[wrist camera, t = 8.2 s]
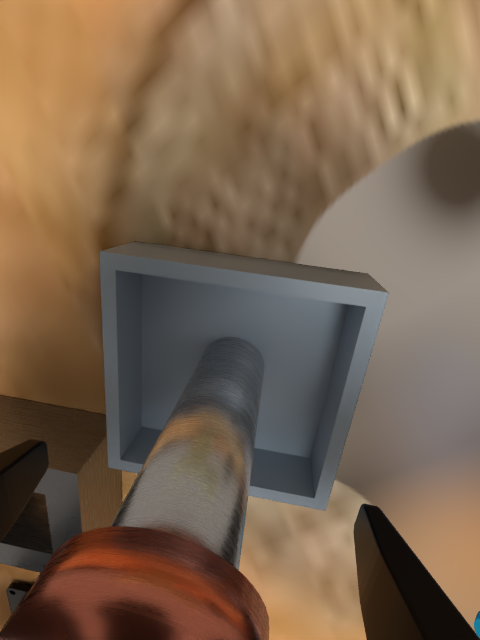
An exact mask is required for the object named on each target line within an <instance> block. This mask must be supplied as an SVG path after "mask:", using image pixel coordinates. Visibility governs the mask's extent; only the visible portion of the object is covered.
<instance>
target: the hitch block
mask: <svg viewBox="0 0 480 640" xmlns="http://www.w3.org/2000/svg"><path fill="white" fill-rule="evenodd" d="M29 439H37V440H43V441H45V442H46V444H47V450H48V458H49V466H48V469H47V471H46V473H45V474H44V476H43V478H42V479H41V481H40V483H39V484H38V486H37V487H36V489H35V491H34V492H33V494H32V496H31V497H30V499H29V500H28V502H27V504H26V505H25V507H24V509H23V510H22V512H21V513H20V515H19V517H18V518H17V520H16V521H15V523H14V524H13V526H12V527H11V529H10V530H9V531H8V533H7V534H6V535H5V537H4V538H3V540H2V541H1V542H0V563H2V564H6V565H10V566H15V567H19V568H23V569H28V570H32V571H36V572H40V573H41V572H42V571H43V569H44V568H45V566H46V565H47V563H48V562H49V560H50V559H51V557H52V556H53V554H54V552H55V551H56V550H57V549H58V548H59V547H60V546H61V545H62V544H63V543H64V542H66V541H67V540H69V539H70V538H72V537H74V536H76V535H78V534H80V533H82V532H86V531H89V530H93V529H97V528H104V527H110V526H111V524H112V522H113V520H114V519H115V517H116V515H117V513H118V511H119V509H120V507H121V506H122V482H121V470H118V469H113V468H108V450H107V426H106V415H103V414H98V413H93V412H87V411H82V410H76V409H71V408H66V407H60V406H55V405H50V404H44V403H39V402H33V401H28V400H23V399H17V398H12V397H7V396H1V395H0V453H1V452H3V451H5V450H7V449H9V448H12V447H14V446H16V445H18V444H20V443H22V442H24V441H26V440H29Z"/></svg>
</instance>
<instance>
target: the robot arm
mask: <svg viewBox="0 0 480 640" xmlns="http://www.w3.org/2000/svg"><path fill="white" fill-rule="evenodd" d="M48 466H49V458H48V450H47V444H46V442H45V441H43V440H37V439H29V440H26V441H24V442H22V443H20V444H18V445H16V446H14V447H12V448H9V449H7V450H5V451H3V452H1V453H0V542H1V541H2V540H3V538H4V537H5V535H6V534H7V533H8V531H9V530H10V529H11V527H12V526H13V524H14V523H15V521H16V520H17V518H18V517H19V515H20V513H21V512H22V510H23V509H24V507H25V505H26V504H27V502H28V500H29V499H30V497H31V496H32V494H33V492H34V491H35V489H36V487H37V486H38V484H39V483H40V481H41V479H42V478H43V476H44V474H45V473H46V471H47V469H48ZM354 543H355V554H356V565H357V576H358V587H359V597H360V604H361V610H362V616H363V621H364V627H365V632H366V638H367V640H480V638H479V637H478V636H477V634H476V633H475V632H474V630H473V629H472V628H471V627H470V625H469V624H468V623H467V621H466V620H465V619H464V617H463V616H462V615H461V613H460V612H459V611H458V610H457V608H456V607H455V606H454V605H453V603H452V602H451V600H450V599H449V598H448V597H447V596H446V594H445V593H444V592H443V590H442V589H441V587H440V586H439V585H438V583H437V582H436V581H435V580H434V578H433V577H432V576H431V574H430V573H429V572H428V570H426V568H425V567H424V565H423V564H422V563H421V561H420V560H419V559H418V557H417V556H416V555H415V554H414V552H413V551H412V550H411V548H410V547H409V546H408V544H407V543H406V542H405V541H404V539H403V538H402V537H401V535H400V534H399V533H398V531H397V530H396V529H395V527H394V526H393V525H392V524H391V522H390V521H389V520H388V518H387V517H386V516H385V514H384V513H383V512H382V510H381V509H380V508H379V507H377V506H373V505H368V504H362V505H361V507H360V510H359V513H358V516H357V519H356V522H355V525H354ZM31 588H32V586H28V585H24V584H20V583H15V582H13V583H11V584H10V586H9V587H8V588H7V590H6V591H7V596H8V600H9V604H10V609H11V613H12V615H11V616H10V618H9V619H8V621H7V622H6V624H5V625H4V627H3V628H2V630H1V631H0V635H1V633H2V632H3V630H4V629H5V627H6V626H7V624H8V623H9V621H10V619H11V618H12V616H13V615H14V613H15V612H16V610H17V609H18V607H19V606H20V604H21V603H22V601H23V600H24V598H25V597H26V595H27V594H28V592H29V591H30V589H31Z"/></svg>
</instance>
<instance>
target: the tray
mask: <svg viewBox="0 0 480 640" xmlns="http://www.w3.org/2000/svg"><path fill="white" fill-rule="evenodd" d="M99 259H100V282H101V306H102V330H103V354H104V378H105V402H106V426H107V450H108V468H113V469H118V470H123V471H128V472H133V473H138V474H139V472H140V470H141V468H142V467H143V465H144V463H145V461H146V459H147V457H148V455H149V454H150V452H151V450H152V448H153V446H154V444H155V442H156V441H157V439H158V437H159V435H160V433H161V431H162V429H163V428H164V426H165V424H166V422H167V420H168V418H169V416H170V415H171V413H172V411H173V409H174V407H175V405H176V403H177V402H178V400H179V398H180V396H181V394H182V392H183V390H184V389H185V387H186V385H187V383H188V381H189V379H190V377H191V376H192V374H193V372H194V370H195V368H196V366H197V364H198V363H199V361H200V359H201V357H202V355H203V353H204V351H205V350H206V348H207V347H208V346H209V345H210V344H211V343H212V342H214V341H216V340H218V339H220V338H224V337H237V338H241V339H244V340H246V341H248V342H250V343H251V344H253V345H254V346H255V347H256V348H257V349H258V350H259V352H260V353H261V355H262V357H263V360H264V366H265V369H264V377H263V385H262V393H261V401H260V408H259V416H258V424H257V432H256V439H255V447H254V455H253V463H252V470H251V478H250V486H249V493H248V496H253V497H258V498H263V499H268V500H273V501H278V502H283V503H288V504H293V505H298V506H303V507H308V508H313V509H318V510H323V511H326V507H327V504H328V500H329V497H330V493H331V490H332V487H333V483H334V480H335V476H336V473H337V469H338V466H339V462H340V459H341V455H342V452H343V449H344V445H345V442H346V438H347V435H348V431H349V428H350V425H351V421H352V418H353V414H354V411H355V408H356V404H357V401H358V397H359V394H360V390H361V387H362V384H363V380H364V377H365V373H366V370H367V366H368V363H369V359H370V356H371V353H372V349H373V346H374V342H375V339H376V335H377V332H378V329H379V325H380V321H381V318H382V315H383V311H384V308H385V304H386V301H387V298H388V294H389V293H388V291H387V290H385V289H384V288H383V287H382V286H381V285H380V284H379V283H378V282H377V281H375V280H374V279H373V278H372V277H371V276H370V275H369V274H367V273H360V272H353V271H345V270H338V269H330V268H323V267H316V266H309V265H302V264H295V263H288V262H281V261H273V260H266V259H259V258H252V257H245V256H237V255H230V254H223V253H216V252H209V251H201V250H194V249H187V248H180V247H173V246H165V245H158V244H151V243H144V242H137V241H134V242H131V243H127V244H124V245H120V246H116V247H113V248H109V249H106V250H102V251H99Z"/></svg>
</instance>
